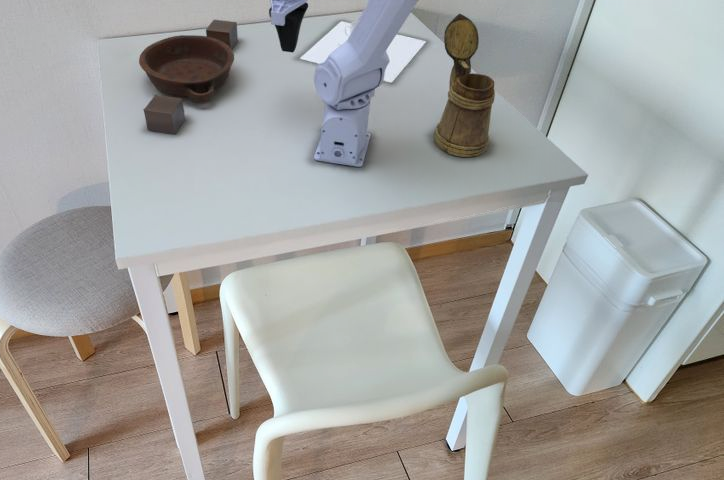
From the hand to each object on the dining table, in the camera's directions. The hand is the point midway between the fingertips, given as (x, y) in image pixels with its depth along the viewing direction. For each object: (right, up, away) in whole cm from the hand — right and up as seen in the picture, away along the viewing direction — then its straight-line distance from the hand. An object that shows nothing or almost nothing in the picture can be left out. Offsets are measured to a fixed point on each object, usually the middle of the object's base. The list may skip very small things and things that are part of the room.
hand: (288, 50), depth 99 cm
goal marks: (-18, -1, +13) cm, 22 cm away
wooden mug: (+29, -14, +2) cm, 32 cm away
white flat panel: (+15, +9, +23) cm, 29 cm away
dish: (-19, -1, +13) cm, 23 cm away
